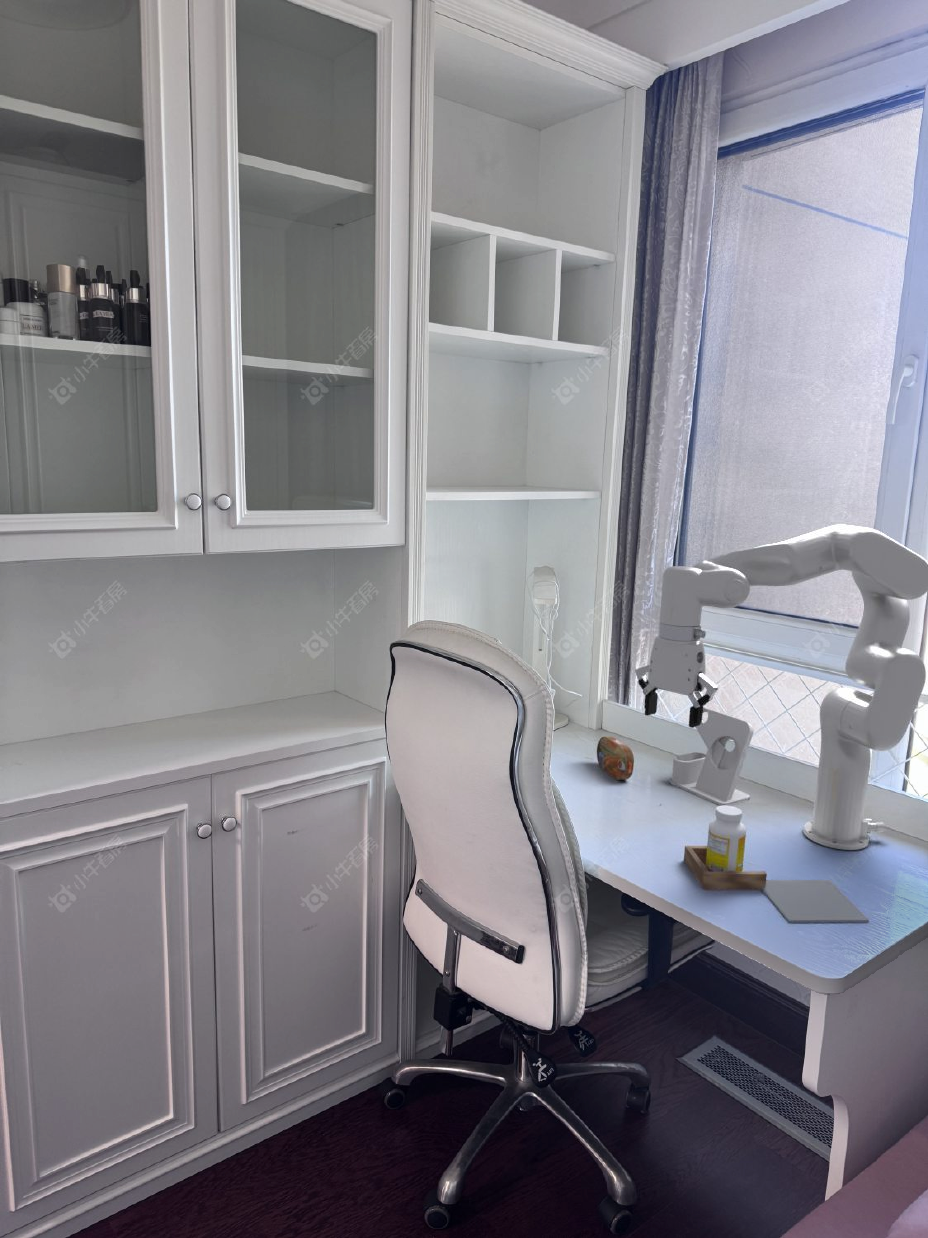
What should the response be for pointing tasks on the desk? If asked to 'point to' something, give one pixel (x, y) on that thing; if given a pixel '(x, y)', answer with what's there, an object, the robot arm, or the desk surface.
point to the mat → (812, 901)
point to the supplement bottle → (726, 840)
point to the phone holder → (715, 760)
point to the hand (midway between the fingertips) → (672, 720)
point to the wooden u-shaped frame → (720, 873)
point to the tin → (615, 758)
